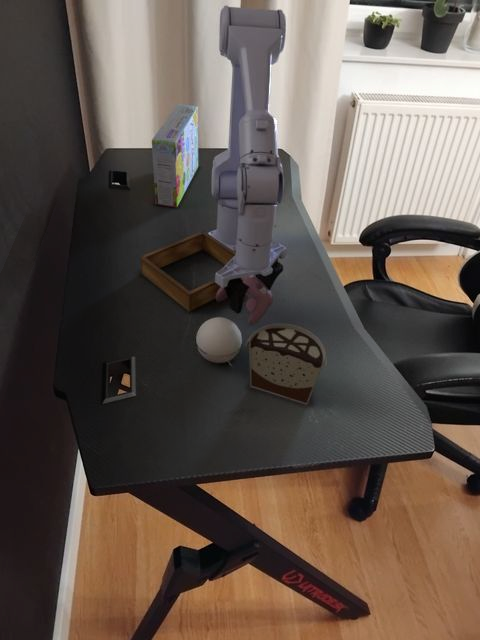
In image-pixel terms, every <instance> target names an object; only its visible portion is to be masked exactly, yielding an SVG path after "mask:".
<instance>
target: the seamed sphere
mask: <svg viewBox="0 0 480 640" xmlns="http://www.w3.org/2000/svg"><path fill="white" fill-rule="evenodd" d="M194 338H195V339H194V342H195V345H196V349H197V350H198V352H199V354H200V355H201V356H202V357H203V358H204V359H205V360H207V361H209V362H212V363H215V364H223V363H227V362H228V363H229V362H230V361H231V360H233V359H234V358H235V357H236V356H237V355H238V354H239V353H240V350H241V348H242V347H243V338H242V332H241V331H240V329H239V327H238V325H237V323H235V322H234V321H233V320H231V319H228V318H226V317H222V316H217V317H212V318H210V319H207V320H205V321H204V322H203V323H202V324H201V325H200V327H199V329H198V331H197V333H196V336H195V337H194ZM229 365H230V366H231V367H233V366H232V364H231V363H229Z"/></svg>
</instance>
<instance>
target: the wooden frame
mask: <svg viewBox="0 0 480 640" xmlns="http://www.w3.org/2000/svg"><path fill="white" fill-rule="evenodd" d="M202 250H203V251H204V252H206V253H207V254H208V255H210V256H211V257H213V258H214V259H216V260H217V261H219V262H220V263H222V264H223V265H224V266H225V265H226V264H227V263H228V262H229V261H230V260H231V259H232V258H233V257H234V256H235V255H236V251H233V250H231V249H230V248H228V247H227V246H225V245H224V244H222V243H221V242H219V241H218V240H216V239H215V238H213V237H212V236H210V235H209V234H208V232H206V231H205V230H202V231H199V232H197V233H195V234H193V235H190V236H187V237H185V238H183V239H180V240H177V241H175V242H173V243H171V244H168V245H166V246H163V247H161V248H158V249H155V250H154V251H151V252H149V253H145V254H144V255H141V256H140V257H139V259H140V271H141V272H140V273H141V275H142V276H143V277H145V278H147V280H149V281H150V282H151V283H152V284H154V285H155V286H156V287H158V288H159V289H160V290H161V291H162V292H163V293H165V294H167V296H169V297H170V298H172V300H174V301H175V302H177V304H179V305H180V306H181V307H183V308H184V309H185V310H187V311H188V312H191V311H193V310H195V309H198V308H199V307H201V306H203V305H205V304H207V303H209V302H211V301H213V300H216V294H217V292H218V290H219V289H220V288H221V286H219V285H218V284H217V283H215V279H212V280H210V281H209V282H207V283H205V284H202V285H201V286H198V287H195V288H194V289H192V290H189V289H188V288H186V287H185V286H184V285H182V284H181V283H180V282H178V280H175V278H173V277H171V276H170V275H169V274H168V273H167V272H165V270H163V269H161V268H163V267H165V266H168V265H171V264H173V263H175V262H177V261H179V260H183V259H184V258H186V257H189V256H191V255H193V254H195V253H198V252H200V251H202Z"/></svg>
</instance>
